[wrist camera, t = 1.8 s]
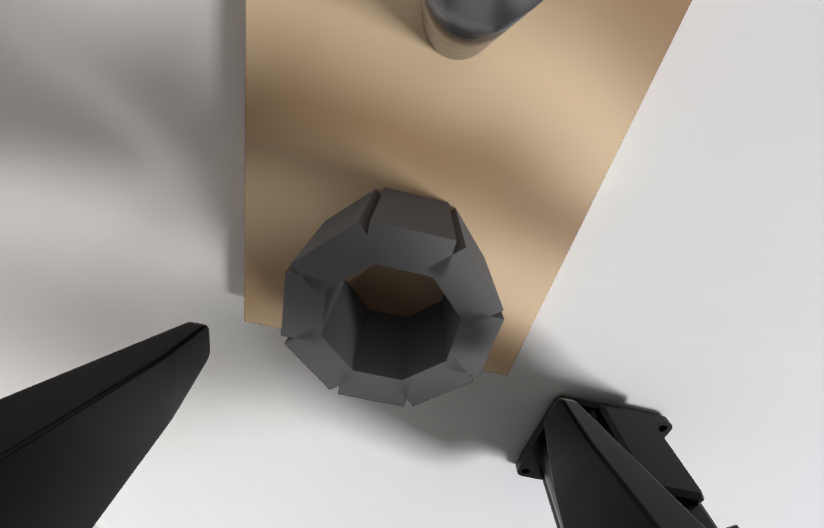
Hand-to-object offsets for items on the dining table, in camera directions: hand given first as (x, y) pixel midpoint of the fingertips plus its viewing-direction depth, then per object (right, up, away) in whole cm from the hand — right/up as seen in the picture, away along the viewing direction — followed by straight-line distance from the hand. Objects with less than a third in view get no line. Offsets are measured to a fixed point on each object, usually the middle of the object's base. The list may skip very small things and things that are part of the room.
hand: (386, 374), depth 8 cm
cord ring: (0, +2, +5) cm, 5 cm away
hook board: (+1, +7, +4) cm, 8 cm away
